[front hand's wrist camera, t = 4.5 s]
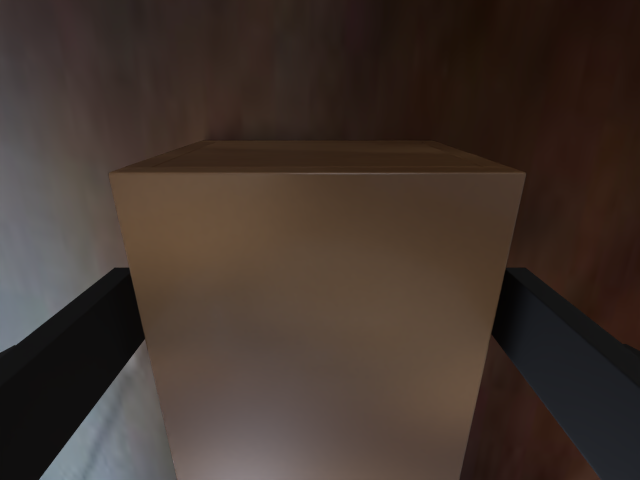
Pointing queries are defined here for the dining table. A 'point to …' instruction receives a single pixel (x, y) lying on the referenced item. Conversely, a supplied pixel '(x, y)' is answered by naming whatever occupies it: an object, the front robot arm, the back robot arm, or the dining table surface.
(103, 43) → the dining table surface
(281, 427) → the cabinet
